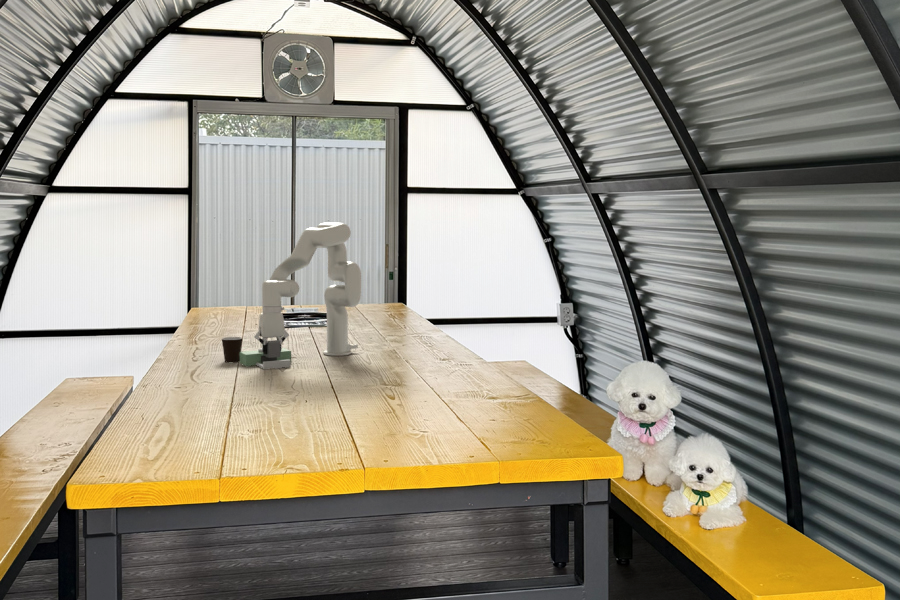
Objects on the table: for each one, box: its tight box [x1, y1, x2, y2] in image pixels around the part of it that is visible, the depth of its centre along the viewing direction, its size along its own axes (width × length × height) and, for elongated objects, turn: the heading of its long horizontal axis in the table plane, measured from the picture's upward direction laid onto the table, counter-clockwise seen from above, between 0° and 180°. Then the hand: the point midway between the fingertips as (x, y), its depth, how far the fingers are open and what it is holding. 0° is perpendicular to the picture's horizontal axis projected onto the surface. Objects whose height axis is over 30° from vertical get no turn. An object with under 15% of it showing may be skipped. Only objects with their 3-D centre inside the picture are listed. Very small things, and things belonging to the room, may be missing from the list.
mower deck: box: [239, 347, 292, 370], centre depth 340 cm, size 20×18×6 cm
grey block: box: [263, 339, 280, 358], centre depth 336 cm, size 5×7×7 cm
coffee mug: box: [221, 336, 243, 363], centre depth 349 cm, size 12×9×10 cm
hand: (272, 353), depth 336 cm, fingers closed on grey block, 5 cm apart
